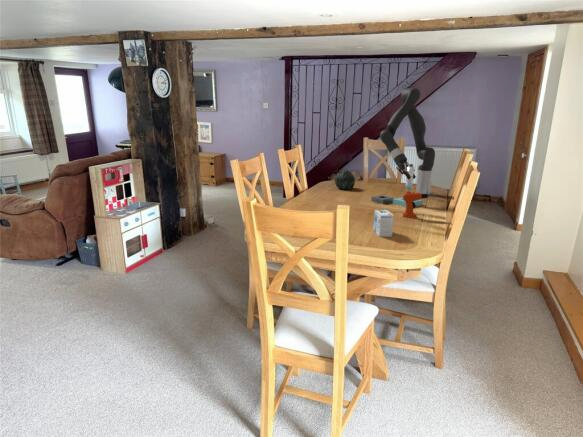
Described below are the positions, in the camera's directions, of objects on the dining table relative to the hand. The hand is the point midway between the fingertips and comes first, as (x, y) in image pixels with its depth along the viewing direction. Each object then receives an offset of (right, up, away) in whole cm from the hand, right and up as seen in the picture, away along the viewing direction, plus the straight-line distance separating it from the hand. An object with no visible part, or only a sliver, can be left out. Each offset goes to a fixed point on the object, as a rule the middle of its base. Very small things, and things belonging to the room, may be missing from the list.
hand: (412, 178), depth 256 cm
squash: (-35, -3, +53) cm, 63 cm away
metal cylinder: (-1, -6, +3) cm, 7 cm away
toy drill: (-4, -25, -25) cm, 35 cm away
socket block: (-16, -14, +12) cm, 25 cm away
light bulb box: (-30, -33, -54) cm, 70 cm away
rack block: (-1, -16, +6) cm, 17 cm away
